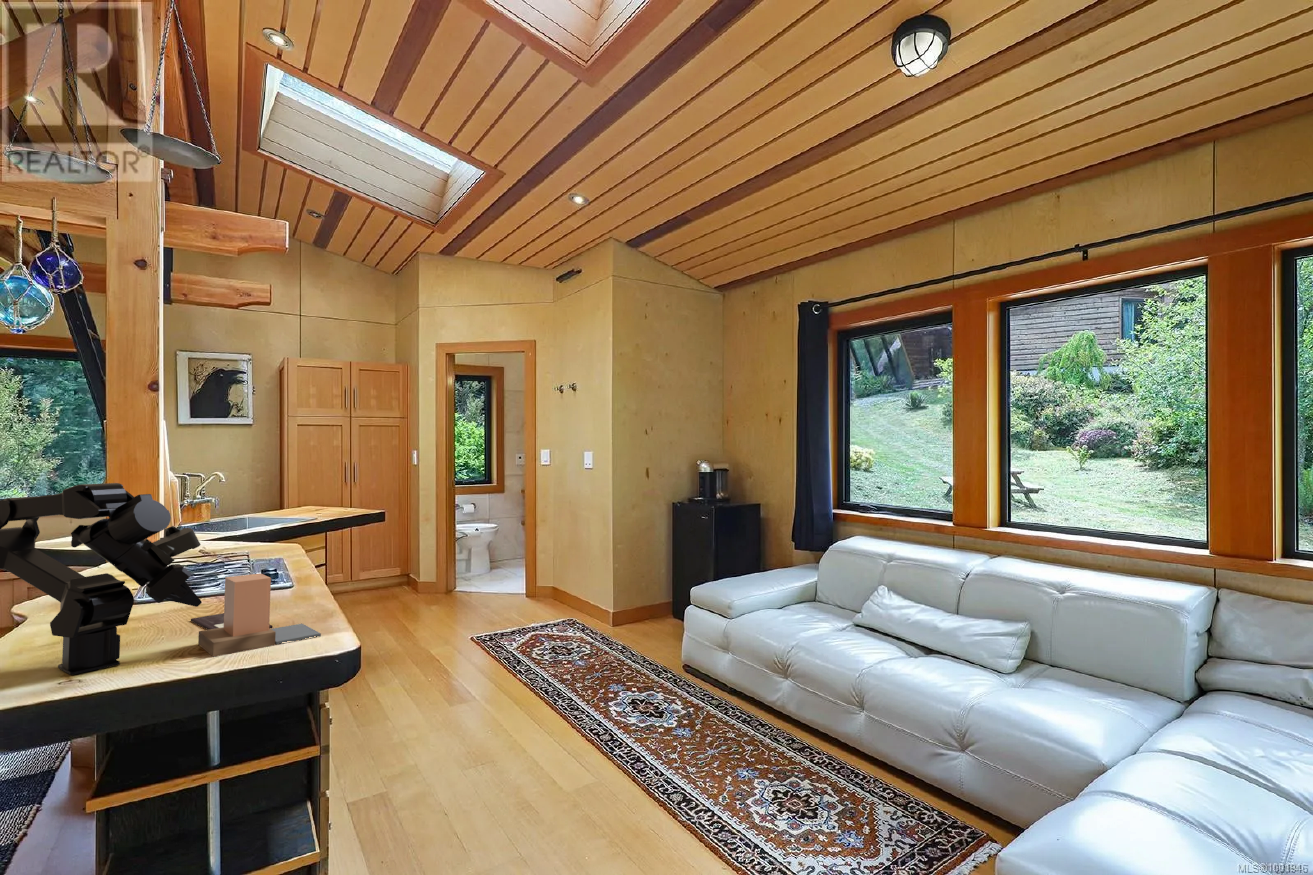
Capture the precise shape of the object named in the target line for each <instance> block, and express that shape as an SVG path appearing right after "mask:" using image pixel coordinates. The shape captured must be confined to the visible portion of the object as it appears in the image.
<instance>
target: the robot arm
mask: <svg viewBox="0 0 1313 875" xmlns="http://www.w3.org/2000/svg"><path fill="white" fill-rule="evenodd" d="M53 516H63V517H65V518H68V519H77V520H84V519H87V520H88V519H97V518H101V519H99V520H97V521H95V522H94V523H92V524H87V525H86V524H85V525H84V524H79V525H78V526H76V528H74V529H73V530H72V531H71V532H70V535H71V542H70V546H71V547H72V548H77V547H79V546H81V545H84V546H86V547H87V548H89V549H90V550H92V552H94V553H95V554H97V555H98V556H99V557H101V558H102V559H104V560H105V561H107V562H108V563H109V564H111V565H112V566H113V567H114V568H115V569H117V571H119V572H121V573H123V574H125V575H126V576H127V577H128V578H130V579H132V580H133V581H134V582H136V584H137V585H139V586H140V587H142V588H143V587H145V594H146V595H147V596H149V598H151V599H152V600H153V601H155V602H156V603H158V604H160V603H163V601H169V602H174V603H178V604H183V605H187V606H192V607H195V608H196V607H199V606H200V605H201V604H203V602H202V600H201V599H200V597H199V596H198V595H197V594H196V593H195V592H194V590H193V589H192V588H191V587H190V586H189V584H188V583H187V580H188V579H189V578H190V577H192V575H193V573H192V572H191V571H189V570H188V569H187V568H185V567H184V566H183V565H181V564H180V563H175V564H174V561H175V558H173V557H176V556H178V555H181V554H182V553H183V554H184V553H185V552H187V551H189V550H195V549H197V548H199V547H201V543H200V541H199V539H198V537H197V535H196V533H195V531H194V530H193V529H192V528H190V527H183V528H182V529H179V528H178V527H176V526H174V525H171V526H170V527H169V525H170V523H171V520H172V517H171V513H170V511H169V509H167V508H166V506H165V505H164V504H162V503H161V502H160V501H157V500H155V499H153V495H152V494H151V493H144V494H138V495H135V496H134V495H132V494H131V493H130V492H129V491H127V490H126V489H125V488H124V485H123V484H122V483H120V482H119V483H118V482H111V483H110V482H107V483H82V484H81V483H80V484H76V485H72V486H69V487H67V488H65V489H63V490H62V492H60V493H56V494H47V495H37V496H36V495H35V496H27V497H26V496H25V497H10V498H9V497H7V498H5V499H1V500H0V570H5V571H7V572H9V573H10V574H12V575H14V576H15V577H17V578H19V579H20V580H22V581H24V582H25V583H27V584H29V585H31V586H32V587H34V588H35V589H37V590H39V591H41V592H42V593H44V594H46V595H48V596H49V597H51V598H52V599H55V600H56V601H58V602H59V603H60V606H59V608H60V609H59V612H58V613H57V614H56V616H55V617H54V618H53V619H52V620H51V621H50V623H49V626H50V631H51V632H50V633H51V635H52V636H53V637H55V636H56V637H61V638H62V653H61V654H62V657H61V658H62V659H61V660H62V661H61V663H60V664H58V665H57V668H58V669H59V670H61V671H63V673H67V674H68V675H69V676H74V675H79V674H83V673H87V672H92V671H97V670H102V669H106V668H111V667H115V666H116V667H117V666H119V665H120V664H121V662H120V661H119V659H120V657H121V656H120V652H121V635H120V634H118V633H117V632H118V627H121V626H126V625H128V622H129V619H130V616H131V612H132V609H133V606H134V603H135V599H134V594H133V593H132V591H131V589H130V588H129V587H128V586H127V585H125V584H126V581H125V580H120V579H117V578H116V577H115V576H114V575H112V574H111V573H107V572H105V573H101V574H96V575H88V576H84V575H83V574H81V573H80V572H78V571H76V570H75V569H73V568H70V567H69V566H67V565H65V564H63V563H62V562H60V561H59V560H58V559H57V560H56V559H55V558H53V557H51V556H50V555H48V554H46V553H44V552H42V551H41V550H39V549H37V548H36V541H37V538H38V536H40V533H41V531H40V527H39V525H38V520H39V519H40V518H43V517H44V518H45V517H53ZM17 521H25V522H24V524H23V525H22V526H19V527H18V526H17V527H16V526H15V527H6V528H4V527H5V526H7V525H8V523H9V522H17ZM162 531H163V537H160V538H159V539H158V540H155V541H153V542H152V541H151V540H150V539H148V538H150V537H152V536H154V535H155V534H158V533H160V532H162ZM172 563H173V564H172Z"/></svg>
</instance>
